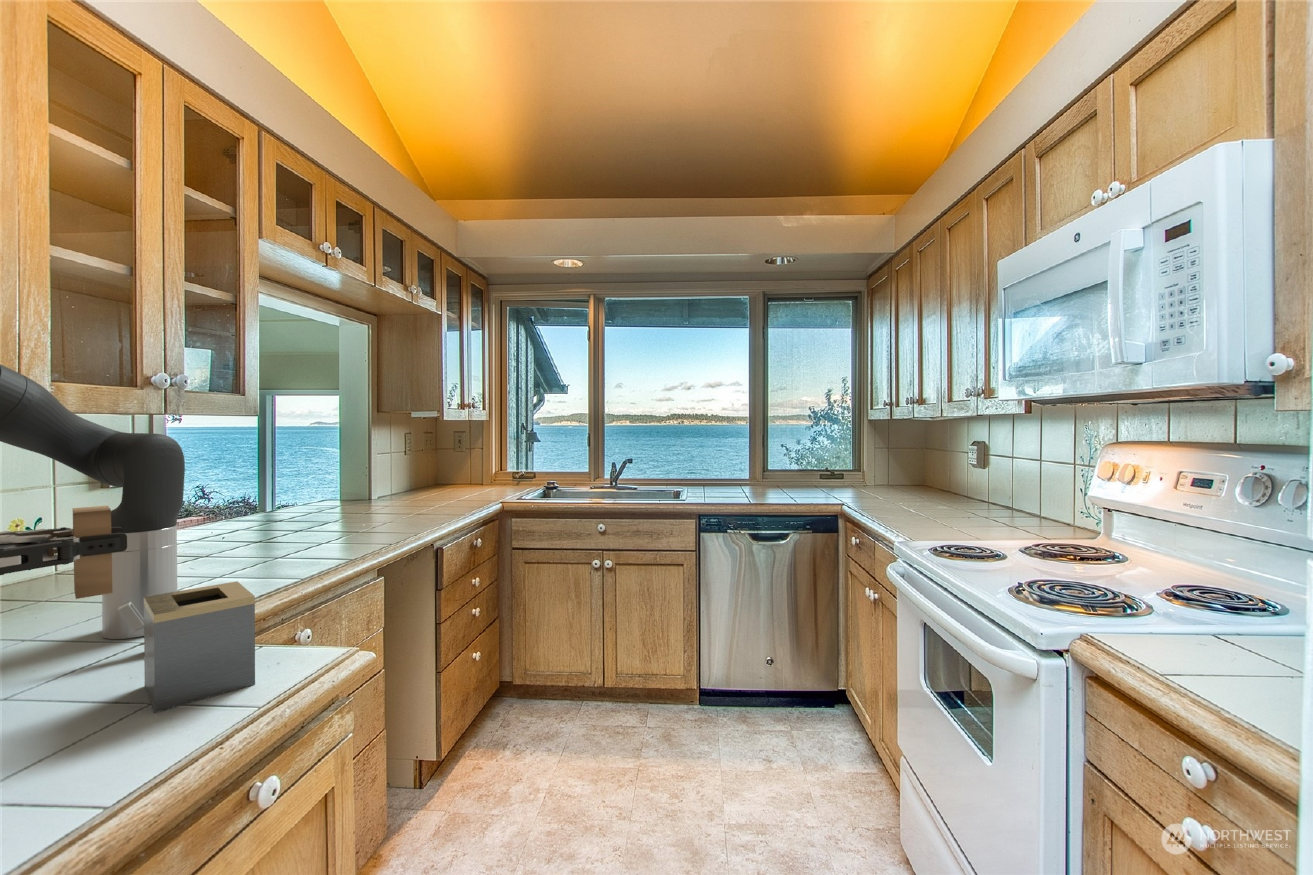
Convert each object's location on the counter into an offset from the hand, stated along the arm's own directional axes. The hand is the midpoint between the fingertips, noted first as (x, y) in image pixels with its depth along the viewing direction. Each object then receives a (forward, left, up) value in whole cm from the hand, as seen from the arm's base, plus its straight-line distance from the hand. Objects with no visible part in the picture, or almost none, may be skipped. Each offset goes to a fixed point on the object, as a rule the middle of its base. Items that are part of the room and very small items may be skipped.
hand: (123, 538), depth 67 cm
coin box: (0, +7, -21) cm, 22 cm away
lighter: (-19, +4, -21) cm, 29 cm away
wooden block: (0, -3, -6) cm, 7 cm away
